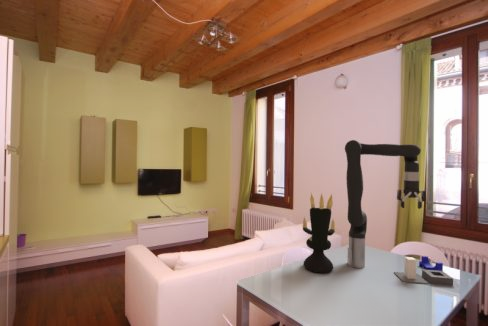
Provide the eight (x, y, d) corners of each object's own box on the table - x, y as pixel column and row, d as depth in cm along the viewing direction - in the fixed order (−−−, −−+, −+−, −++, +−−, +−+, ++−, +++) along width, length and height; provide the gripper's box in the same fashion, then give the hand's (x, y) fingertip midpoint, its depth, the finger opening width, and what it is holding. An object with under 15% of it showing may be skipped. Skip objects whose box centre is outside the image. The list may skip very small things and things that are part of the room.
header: (431, 283, 138) (431, 276, 138) (421, 275, 148) (422, 269, 148) (453, 285, 136) (453, 278, 136) (442, 277, 146) (442, 270, 146)
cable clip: (419, 266, 163) (419, 256, 163) (426, 265, 163) (426, 256, 163) (435, 274, 151) (435, 263, 151) (442, 274, 151) (442, 263, 151)
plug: (407, 278, 142) (408, 259, 142) (404, 275, 146) (404, 256, 146) (415, 279, 142) (416, 260, 142) (412, 275, 146) (412, 257, 146)
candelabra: (333, 263, 163) (334, 189, 163) (340, 279, 141) (341, 193, 141) (301, 261, 166) (303, 188, 167) (303, 275, 145) (304, 192, 145)
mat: (402, 282, 139) (402, 280, 139) (393, 272, 151) (393, 271, 151) (428, 284, 137) (428, 283, 137) (417, 274, 149) (417, 273, 149)
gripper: (400, 179, 151) (400, 208, 151) (428, 180, 149) (428, 209, 149) (395, 179, 158) (395, 206, 158) (421, 179, 156) (421, 207, 156)
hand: (411, 208), depth 153 cm, fingers open, 8 cm apart
